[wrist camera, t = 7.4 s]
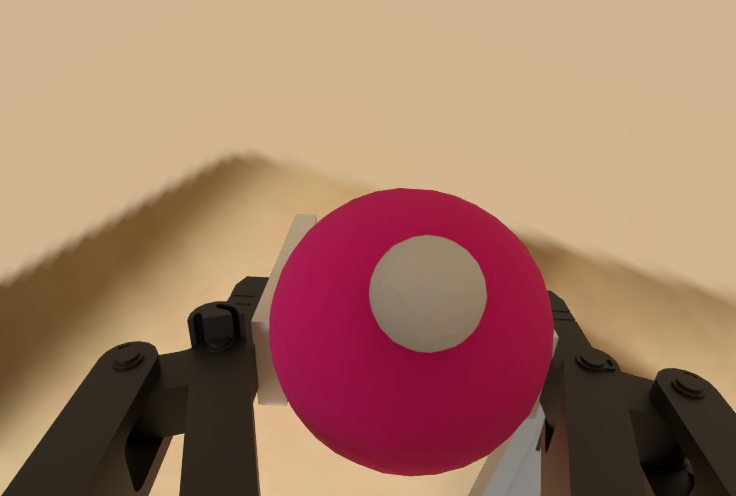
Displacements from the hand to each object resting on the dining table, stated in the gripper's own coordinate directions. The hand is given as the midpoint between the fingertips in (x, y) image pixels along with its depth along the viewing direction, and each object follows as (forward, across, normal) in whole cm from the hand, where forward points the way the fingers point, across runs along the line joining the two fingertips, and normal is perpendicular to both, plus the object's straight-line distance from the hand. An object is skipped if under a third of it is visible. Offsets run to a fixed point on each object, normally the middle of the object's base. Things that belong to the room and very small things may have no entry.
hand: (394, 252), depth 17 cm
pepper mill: (+4, 0, -9) cm, 10 cm away
